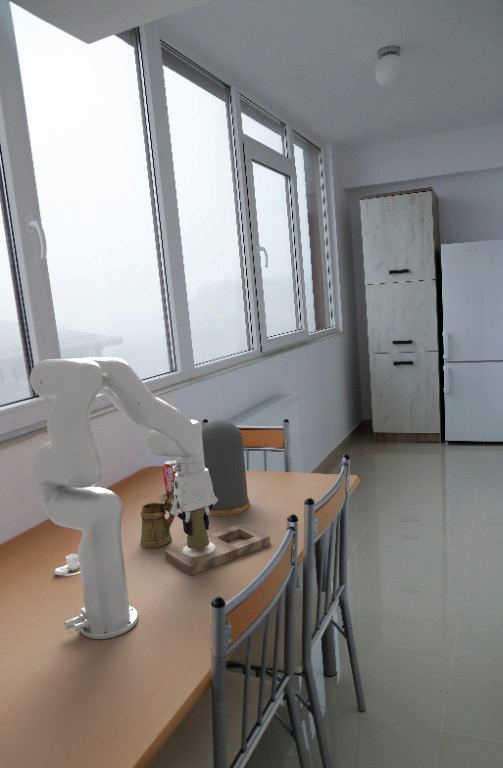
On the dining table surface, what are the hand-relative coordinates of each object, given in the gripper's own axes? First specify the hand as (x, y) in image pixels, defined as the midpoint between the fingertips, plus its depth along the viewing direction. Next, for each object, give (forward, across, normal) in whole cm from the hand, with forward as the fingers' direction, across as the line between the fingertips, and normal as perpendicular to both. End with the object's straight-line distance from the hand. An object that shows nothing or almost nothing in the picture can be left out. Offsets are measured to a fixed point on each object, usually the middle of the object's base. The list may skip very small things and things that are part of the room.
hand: (196, 530), depth 161 cm
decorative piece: (+8, +27, +28) cm, 40 cm away
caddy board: (+8, +6, 0) cm, 10 cm away
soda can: (+8, +22, +55) cm, 60 cm away
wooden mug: (+8, -2, +18) cm, 20 cm away
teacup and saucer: (+9, -30, +23) cm, 39 cm away
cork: (+4, 0, 0) cm, 4 cm away
